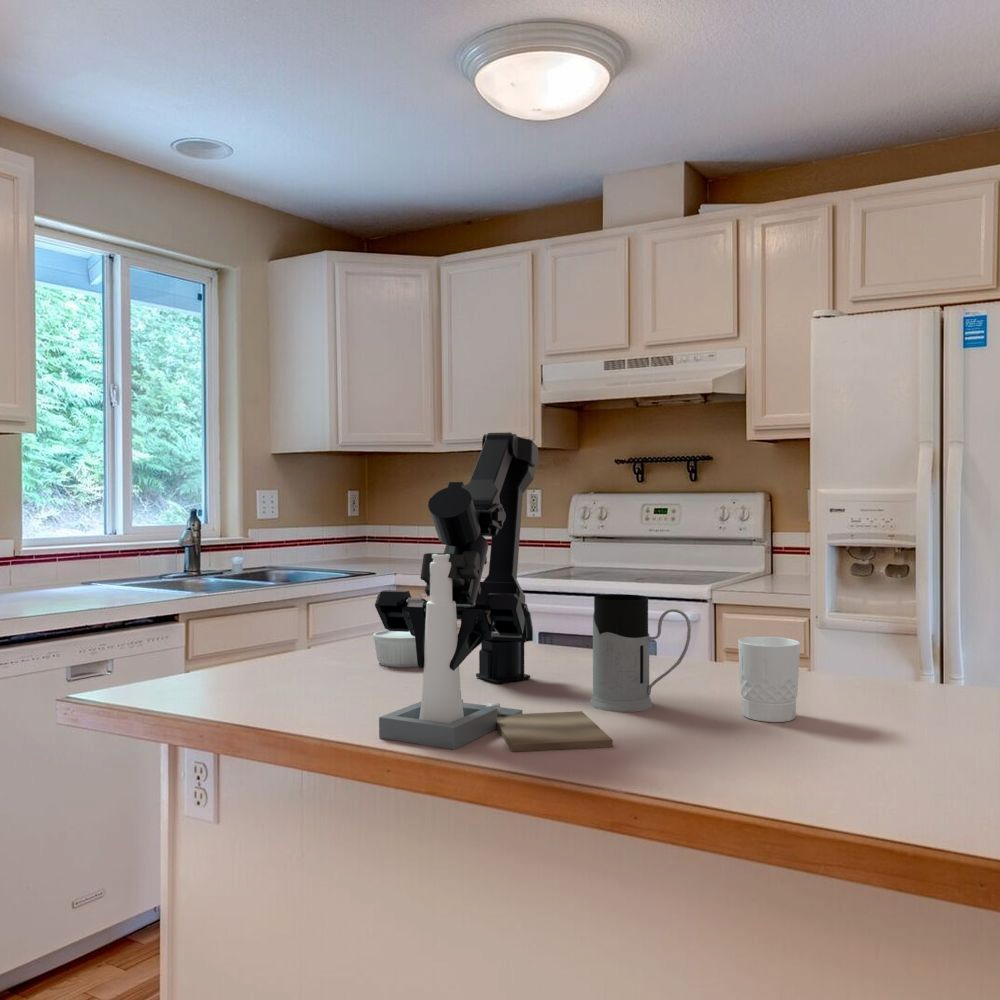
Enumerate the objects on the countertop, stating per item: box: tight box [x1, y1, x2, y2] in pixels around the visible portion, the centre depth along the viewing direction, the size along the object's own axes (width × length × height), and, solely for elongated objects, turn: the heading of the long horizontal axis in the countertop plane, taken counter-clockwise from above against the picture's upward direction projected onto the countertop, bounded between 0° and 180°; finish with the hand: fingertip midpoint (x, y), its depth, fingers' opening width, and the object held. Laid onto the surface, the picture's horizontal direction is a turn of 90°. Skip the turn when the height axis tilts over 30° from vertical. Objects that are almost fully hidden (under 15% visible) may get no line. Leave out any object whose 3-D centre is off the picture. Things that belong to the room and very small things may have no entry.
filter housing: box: [378, 698, 523, 750], centre depth 117 cm, size 18×11×2 cm, turn 152°
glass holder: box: [589, 593, 692, 713], centre depth 128 cm, size 9×14×15 cm, turn 64°
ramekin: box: [372, 629, 418, 668], centre depth 160 cm, size 11×11×5 cm
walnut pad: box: [497, 710, 614, 753], centre depth 114 cm, size 14×12×1 cm
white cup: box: [737, 635, 801, 723], centre depth 122 cm, size 8×8×10 cm
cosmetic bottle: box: [419, 554, 464, 723], centre depth 114 cm, size 6×6×22 cm
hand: (435, 668), depth 113 cm, fingers closed on cosmetic bottle, 4 cm apart
